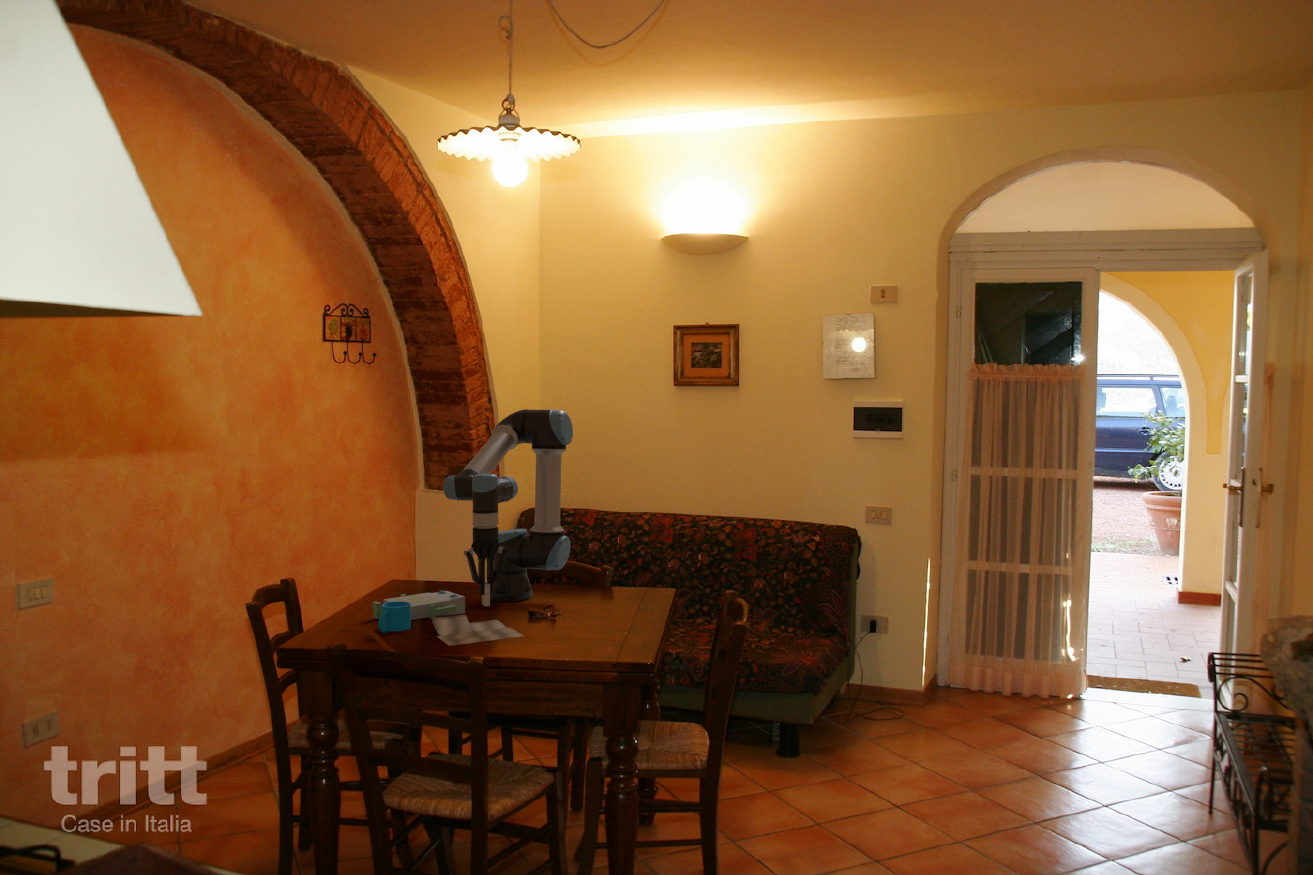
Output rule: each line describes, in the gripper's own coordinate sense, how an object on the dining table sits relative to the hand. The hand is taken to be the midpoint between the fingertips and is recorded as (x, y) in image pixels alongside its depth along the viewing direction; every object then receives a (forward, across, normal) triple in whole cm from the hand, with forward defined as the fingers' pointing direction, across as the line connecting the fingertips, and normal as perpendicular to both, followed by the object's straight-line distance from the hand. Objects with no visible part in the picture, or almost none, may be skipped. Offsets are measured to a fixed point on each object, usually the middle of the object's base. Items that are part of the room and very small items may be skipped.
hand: (486, 605), depth 279 cm
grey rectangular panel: (+7, 0, +1) cm, 7 cm away
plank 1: (+5, +11, +1) cm, 12 cm away
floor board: (+7, +6, +11) cm, 14 cm away
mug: (+7, +26, -8) cm, 28 cm away
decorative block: (+8, +13, -25) cm, 29 cm away
